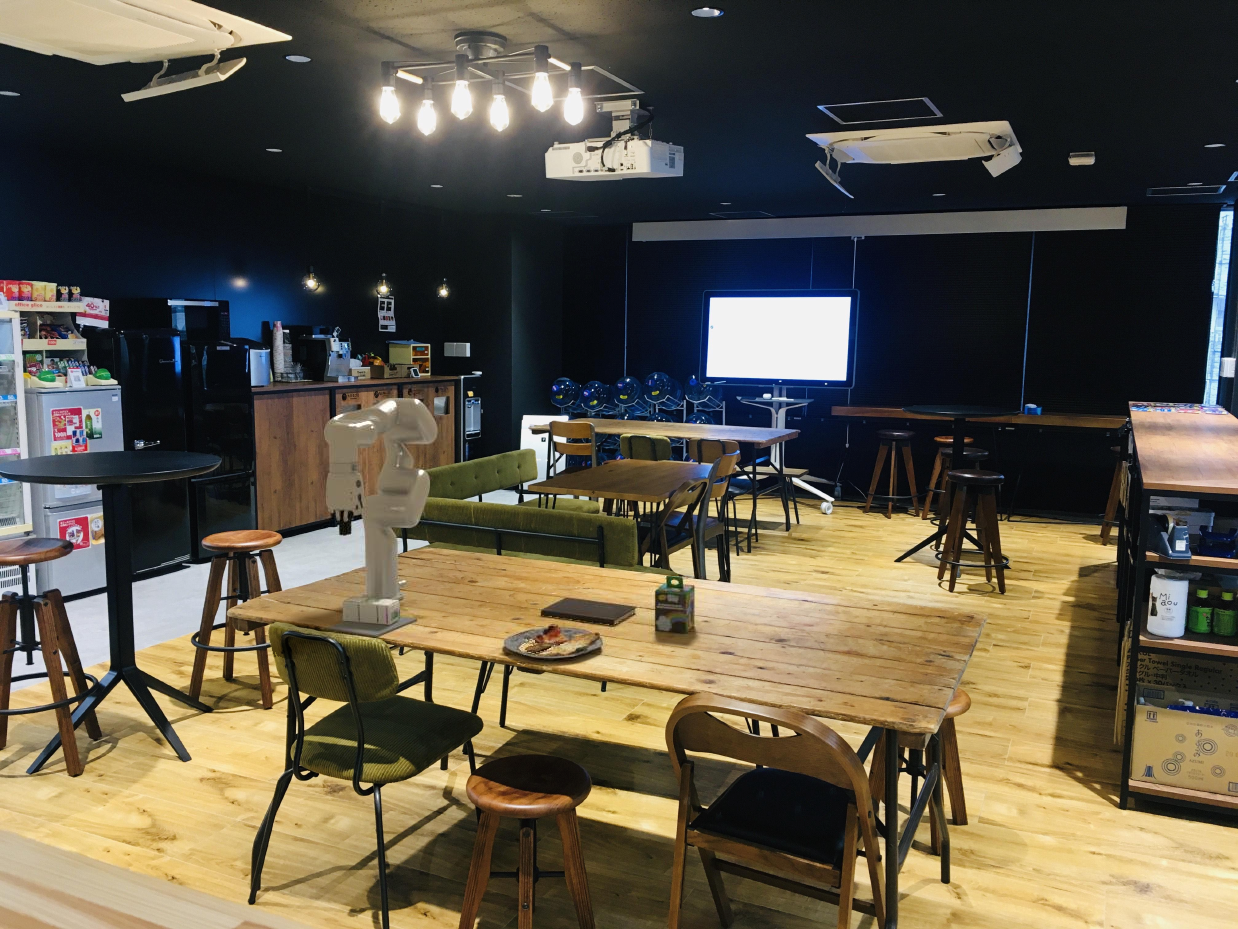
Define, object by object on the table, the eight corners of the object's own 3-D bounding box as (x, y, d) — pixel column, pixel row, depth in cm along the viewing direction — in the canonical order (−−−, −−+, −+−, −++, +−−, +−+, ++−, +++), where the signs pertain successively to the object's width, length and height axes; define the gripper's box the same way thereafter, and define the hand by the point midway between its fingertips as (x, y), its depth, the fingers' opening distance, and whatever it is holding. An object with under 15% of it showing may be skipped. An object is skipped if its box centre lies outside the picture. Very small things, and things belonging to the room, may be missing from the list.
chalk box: (694, 625, 270) (696, 573, 268) (686, 634, 261) (687, 580, 260) (662, 622, 273) (664, 570, 271) (653, 630, 264) (654, 577, 263)
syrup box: (342, 621, 266) (390, 626, 263) (342, 600, 266) (390, 605, 262) (353, 615, 272) (400, 620, 268) (353, 595, 271) (400, 599, 267)
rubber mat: (370, 613, 276) (370, 611, 276) (417, 620, 270) (417, 618, 270) (327, 629, 260) (327, 627, 260) (376, 637, 254) (376, 635, 254)
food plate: (554, 628, 264) (554, 616, 264) (620, 646, 250) (620, 633, 249) (486, 652, 245) (486, 638, 245) (554, 673, 231) (554, 659, 230)
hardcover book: (566, 604, 292) (566, 597, 292) (636, 614, 283) (636, 606, 282) (540, 617, 277) (540, 609, 277) (613, 628, 268) (613, 620, 268)
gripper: (375, 468, 265) (376, 534, 267) (331, 465, 270) (332, 529, 273) (357, 471, 258) (358, 539, 260) (312, 468, 264) (314, 534, 266)
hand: (345, 534), depth 266 cm, fingers closed
